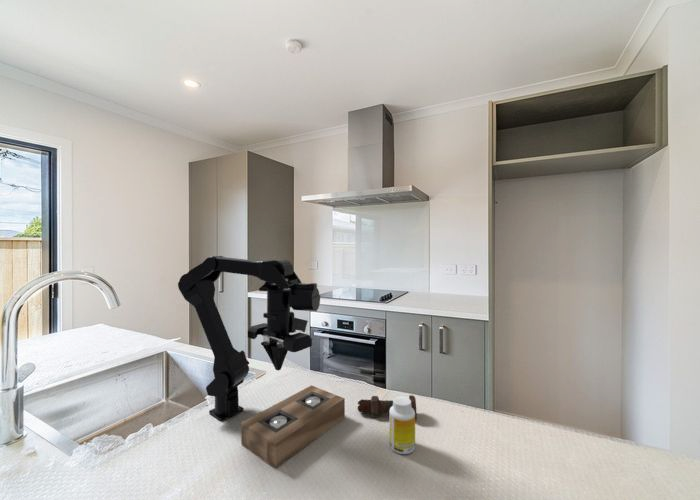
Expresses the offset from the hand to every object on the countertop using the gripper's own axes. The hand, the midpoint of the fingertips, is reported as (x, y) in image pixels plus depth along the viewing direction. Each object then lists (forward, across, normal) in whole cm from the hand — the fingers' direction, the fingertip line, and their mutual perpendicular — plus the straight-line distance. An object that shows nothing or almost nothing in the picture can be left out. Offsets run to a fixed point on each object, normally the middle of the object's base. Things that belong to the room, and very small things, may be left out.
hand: (278, 369), depth 75 cm
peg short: (+13, -7, -5) cm, 16 cm away
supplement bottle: (+13, -30, -10) cm, 34 cm away
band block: (+13, -7, 0) cm, 15 cm away
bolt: (+13, -21, -18) cm, 31 cm away
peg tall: (+13, -7, +6) cm, 16 cm away
